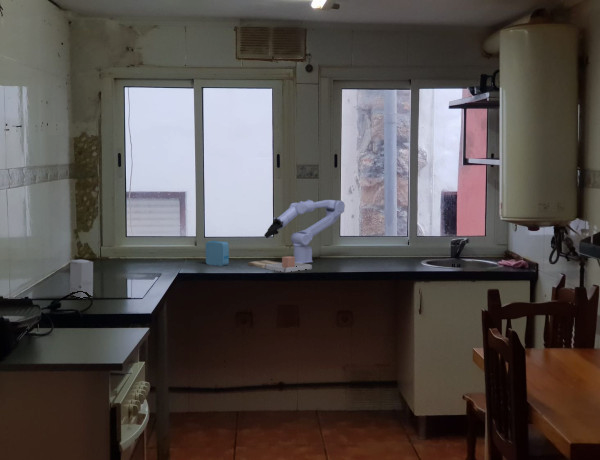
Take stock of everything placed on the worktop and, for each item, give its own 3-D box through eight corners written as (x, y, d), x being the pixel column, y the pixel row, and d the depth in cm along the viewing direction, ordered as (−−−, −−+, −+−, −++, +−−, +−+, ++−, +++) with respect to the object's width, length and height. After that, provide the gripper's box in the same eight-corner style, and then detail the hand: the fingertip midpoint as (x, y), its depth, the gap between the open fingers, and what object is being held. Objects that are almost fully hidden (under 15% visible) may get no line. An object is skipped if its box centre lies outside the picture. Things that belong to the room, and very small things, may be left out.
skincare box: (69, 296, 313) (68, 260, 311) (82, 294, 317) (81, 258, 316) (81, 299, 307) (80, 262, 306) (94, 297, 312) (93, 260, 310)
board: (266, 263, 406) (266, 260, 406) (280, 265, 397) (280, 262, 397) (248, 265, 398) (248, 262, 398) (262, 267, 389) (262, 264, 389)
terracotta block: (289, 268, 389) (289, 256, 389) (294, 269, 386) (294, 257, 385) (282, 268, 386) (282, 257, 386) (287, 269, 383) (287, 257, 382)
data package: (229, 265, 399) (228, 242, 398) (223, 266, 395) (223, 243, 394) (211, 263, 406) (211, 240, 404) (205, 264, 402) (205, 241, 401)
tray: (292, 265, 398) (292, 261, 398) (311, 268, 386) (311, 264, 386) (265, 268, 386) (265, 264, 386) (284, 272, 375) (284, 268, 374)
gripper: (276, 217, 407) (258, 233, 401) (283, 207, 394) (265, 223, 388) (286, 227, 406) (268, 243, 401) (293, 217, 393) (274, 233, 388)
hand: (267, 233), depth 394 cm, fingers open, 7 cm apart
